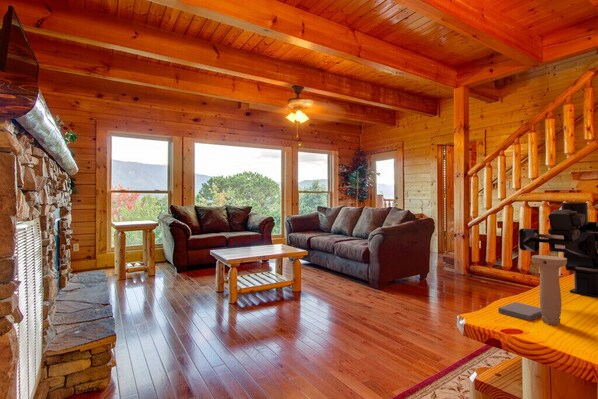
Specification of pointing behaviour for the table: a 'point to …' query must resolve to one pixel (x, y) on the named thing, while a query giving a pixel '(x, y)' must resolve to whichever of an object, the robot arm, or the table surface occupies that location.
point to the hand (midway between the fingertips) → (544, 245)
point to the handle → (550, 287)
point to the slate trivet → (521, 311)
